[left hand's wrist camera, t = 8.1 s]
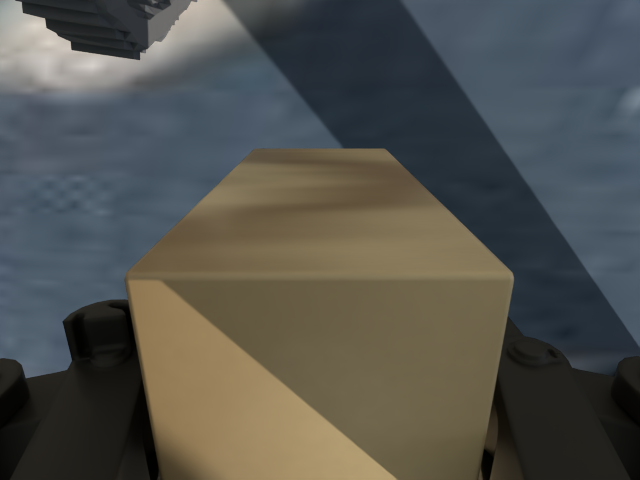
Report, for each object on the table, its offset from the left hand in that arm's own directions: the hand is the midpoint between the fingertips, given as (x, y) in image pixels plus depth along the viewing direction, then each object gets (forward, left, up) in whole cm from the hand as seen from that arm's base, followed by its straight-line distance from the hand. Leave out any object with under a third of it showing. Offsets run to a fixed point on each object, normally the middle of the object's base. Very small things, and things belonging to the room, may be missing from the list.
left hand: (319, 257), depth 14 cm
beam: (0, +10, -1) cm, 10 cm away
